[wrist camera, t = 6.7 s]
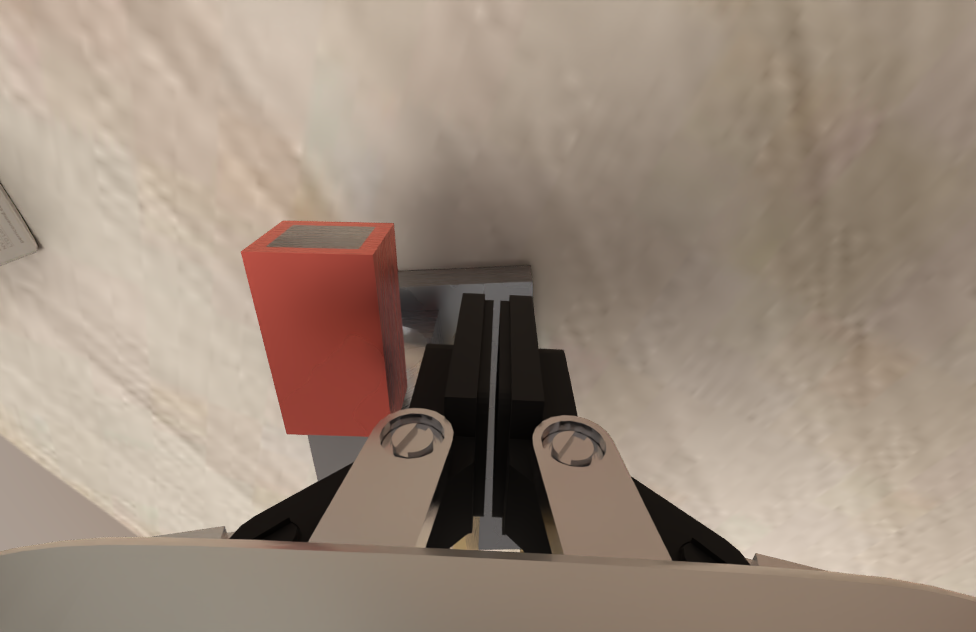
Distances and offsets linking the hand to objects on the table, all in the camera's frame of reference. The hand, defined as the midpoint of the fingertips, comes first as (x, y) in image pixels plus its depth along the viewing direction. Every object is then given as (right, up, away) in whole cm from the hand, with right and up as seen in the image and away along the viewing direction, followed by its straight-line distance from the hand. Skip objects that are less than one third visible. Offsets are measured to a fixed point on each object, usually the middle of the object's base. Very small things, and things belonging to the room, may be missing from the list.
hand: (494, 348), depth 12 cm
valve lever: (-3, -3, +1) cm, 5 cm away
